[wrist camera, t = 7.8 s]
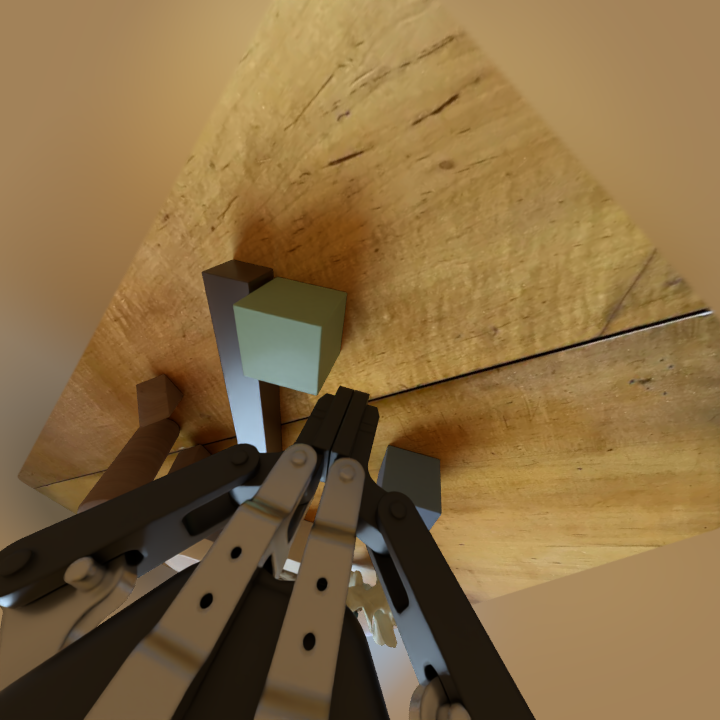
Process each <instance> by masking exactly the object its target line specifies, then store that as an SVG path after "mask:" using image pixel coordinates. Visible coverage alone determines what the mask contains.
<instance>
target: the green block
mask: <svg viewBox="0 0 720 720" xmlns="http://www.w3.org/2000/svg"><path fill="white" fill-rule="evenodd" d="M346 298H347V293H346V292H342V291H337V290H333V289H328V288H324V287H320V286H315V285H311V284H307V283H302V282H298V281H294V280H289V279H285V278H280V277H276V278H274V279H273V280H271V281H270V282H268V283H266V284H265V285H263V286H262V287H260V288H258V289H257V290H255V291H254V292H252V293H250V294H249V295H247V296H246V297H244V298H242V299H241V300H239V301H238V302H236V303H234V304H233V309H234V315H235V322H236V328H237V335H238V341H239V348H240V354H241V361H242V368H243V374H244V376H246V377H250V378H254V379H257V380H261V381H265V382H268V383H272V384H276V385H280V386H283V387H287V388H291V389H294V390H298V391H302V392H305V393H309V394H313V395H318V394H319V392H320V390H321V388H322V386H323V384H324V382H325V380H326V378H327V376H328V375H329V373H330V371H331V369H332V367H333V365H334V363H335V361H336V359H337V358H338V356H339V354H340V348H341V339H342V331H343V323H344V315H345V307H346Z"/></svg>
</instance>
